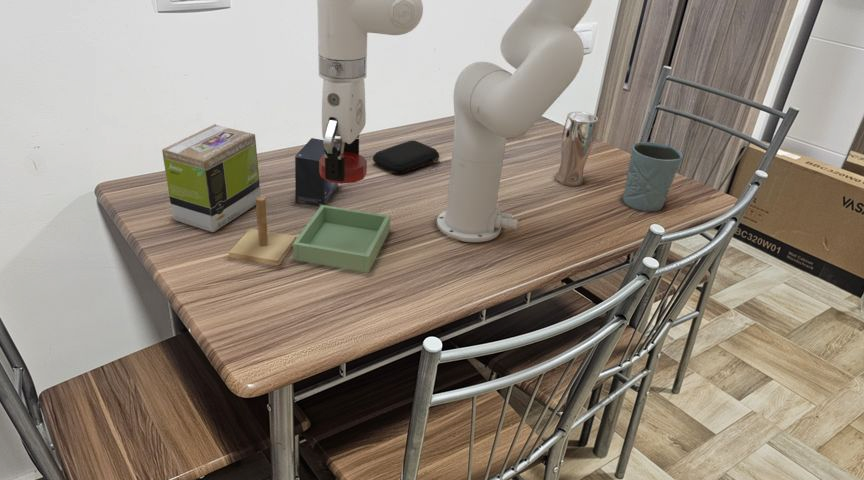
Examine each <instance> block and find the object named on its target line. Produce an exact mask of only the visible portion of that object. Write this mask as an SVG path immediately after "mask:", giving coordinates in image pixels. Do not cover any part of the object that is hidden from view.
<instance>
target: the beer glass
mask: <svg viewBox="0 0 864 480" xmlns="http://www.w3.org/2000/svg"><path fill="white" fill-rule="evenodd" d="M566 115H567V116H566V119H565V122H564V126H563V130H562V136H561V148H560V149H561V153H560V154H561V155H560V165H559V168H558V171H557V173H556V175H555V179H556V181H557V182H558V183H560V184H562V185H565V186H570V187H574V186H575V187H577V186H581V185H583V184H584V170H585V167H586V163H587V160H588V158H589V156H590V155H591V151H592V149H593V146H594V143H595V138H596V134H597V130H598V129H597V127H598V120H599V118H598V117H597V116H596V115H594V114H593V113H589V112H586V111H585V112H584V111H571V112H568V113H567V114H566Z"/></svg>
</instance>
